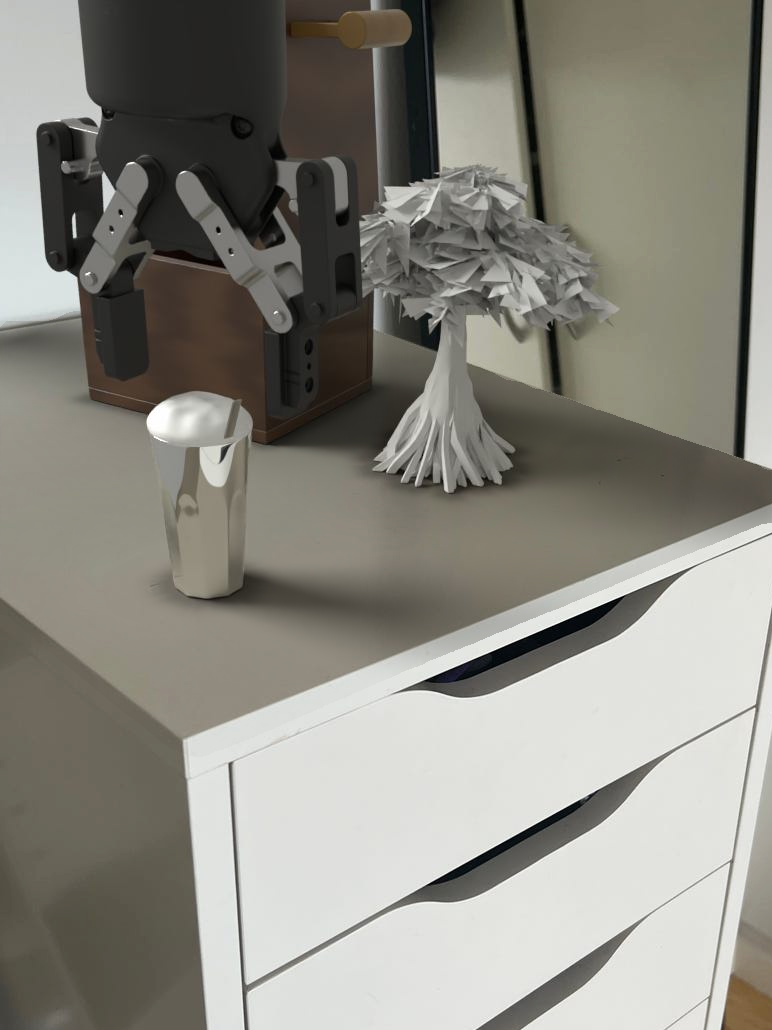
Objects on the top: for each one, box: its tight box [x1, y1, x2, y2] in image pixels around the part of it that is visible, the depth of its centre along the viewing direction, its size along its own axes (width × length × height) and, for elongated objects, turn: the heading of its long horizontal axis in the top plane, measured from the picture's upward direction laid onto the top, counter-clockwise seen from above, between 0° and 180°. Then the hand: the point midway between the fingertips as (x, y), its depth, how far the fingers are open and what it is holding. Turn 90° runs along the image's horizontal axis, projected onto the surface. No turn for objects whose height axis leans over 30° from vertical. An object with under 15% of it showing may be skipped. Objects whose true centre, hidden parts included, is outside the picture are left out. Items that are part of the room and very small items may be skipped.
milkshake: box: [146, 391, 253, 600], centre depth 55 cm, size 4×5×10 cm
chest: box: [76, 243, 375, 445], centre depth 78 cm, size 14×13×10 cm
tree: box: [359, 163, 621, 494], centre depth 68 cm, size 18×16×17 cm
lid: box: [254, 0, 413, 250], centre depth 69 cm, size 14×13×6 cm
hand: (205, 394), depth 53 cm, fingers open, 8 cm apart
